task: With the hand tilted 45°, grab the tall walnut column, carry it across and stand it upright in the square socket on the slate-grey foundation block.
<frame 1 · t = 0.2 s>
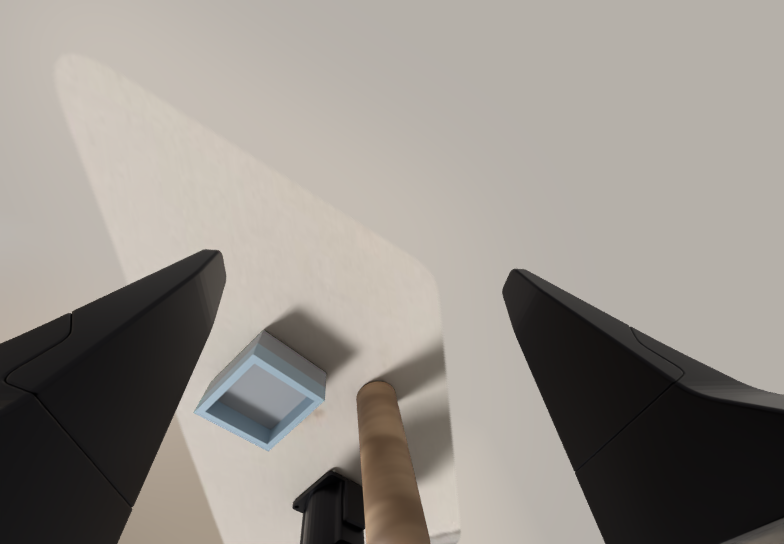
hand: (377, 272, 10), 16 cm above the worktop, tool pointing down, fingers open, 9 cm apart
pillar: (376, 397, 31), on the worktop
foundation: (270, 377, 28), on the worktop
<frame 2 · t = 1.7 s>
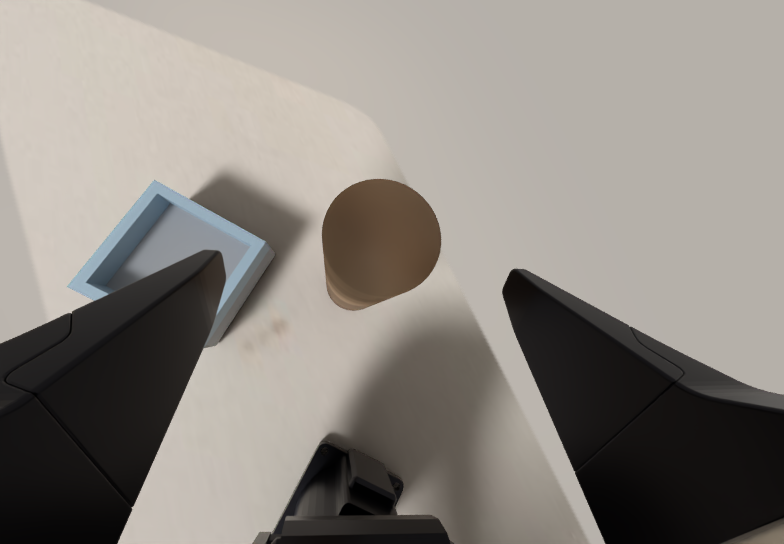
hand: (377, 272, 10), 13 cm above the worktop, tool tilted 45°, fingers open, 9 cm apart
pillar: (354, 283, 23), on the worktop
foundation: (198, 272, 21), on the worktop
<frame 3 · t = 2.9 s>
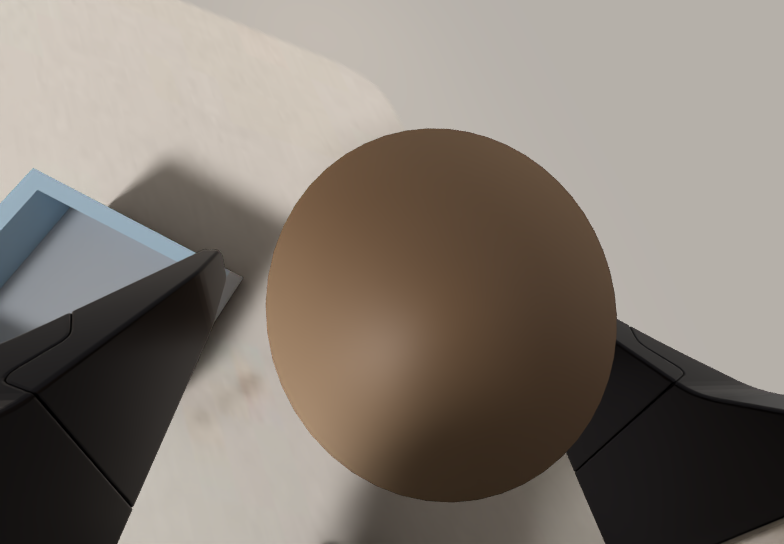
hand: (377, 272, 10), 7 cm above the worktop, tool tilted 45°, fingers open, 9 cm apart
pillar: (357, 317, 16), on the worktop
foundation: (125, 308, 14), on the worktop
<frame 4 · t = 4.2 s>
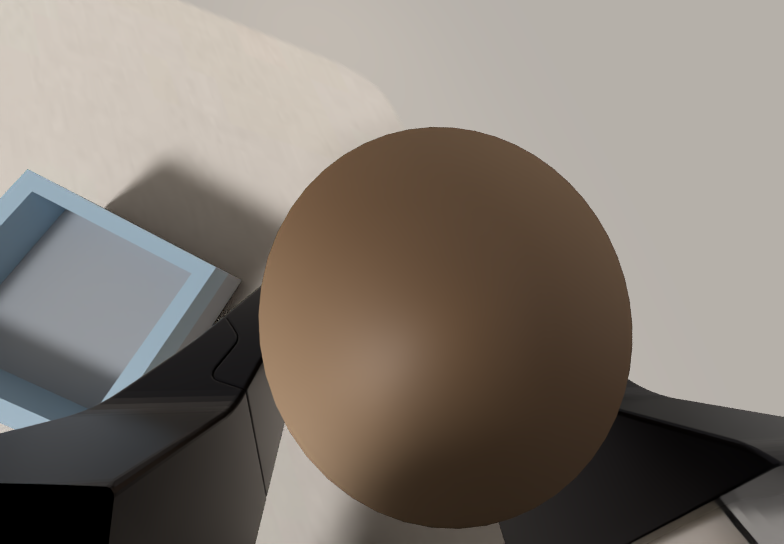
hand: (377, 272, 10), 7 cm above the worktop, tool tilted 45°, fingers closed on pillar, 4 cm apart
pillar: (357, 319, 16), on the worktop, touching gripper
foundation: (122, 311, 14), on the worktop
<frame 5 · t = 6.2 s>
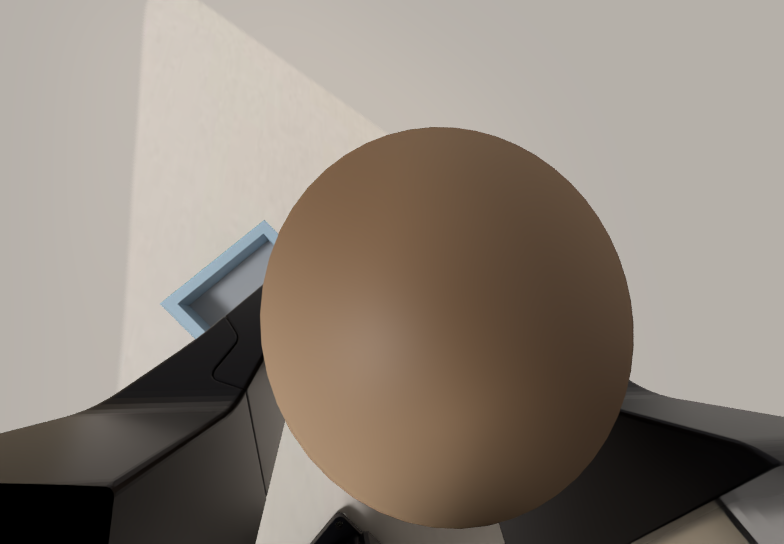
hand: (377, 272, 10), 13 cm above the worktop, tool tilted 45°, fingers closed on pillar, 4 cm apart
pillar: (357, 319, 16), point 7 cm above the worktop, touching gripper
foundation: (270, 307, 21), on the worktop
when the fingers open (9 cm above the worktop, at t = 8.2 s): pillar stays where it is, resting on foundation.
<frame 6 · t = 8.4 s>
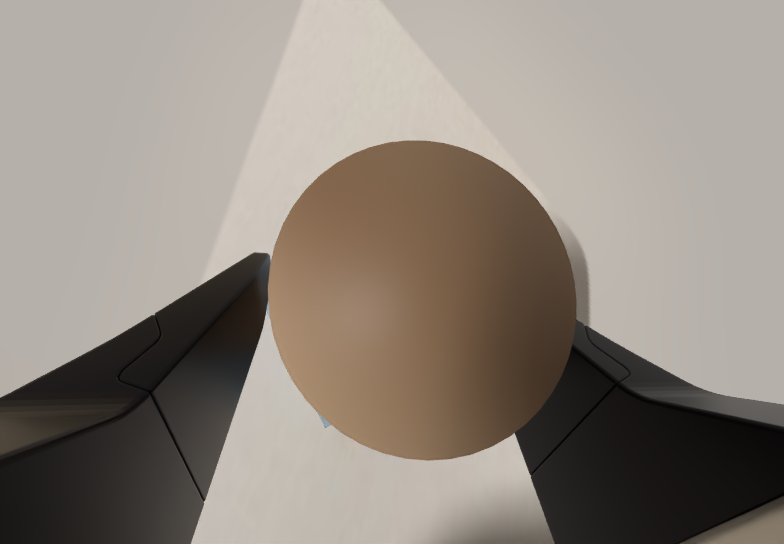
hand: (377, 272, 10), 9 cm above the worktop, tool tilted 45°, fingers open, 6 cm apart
pillar: (356, 320, 16), point 2 cm above the worktop, touching foundation
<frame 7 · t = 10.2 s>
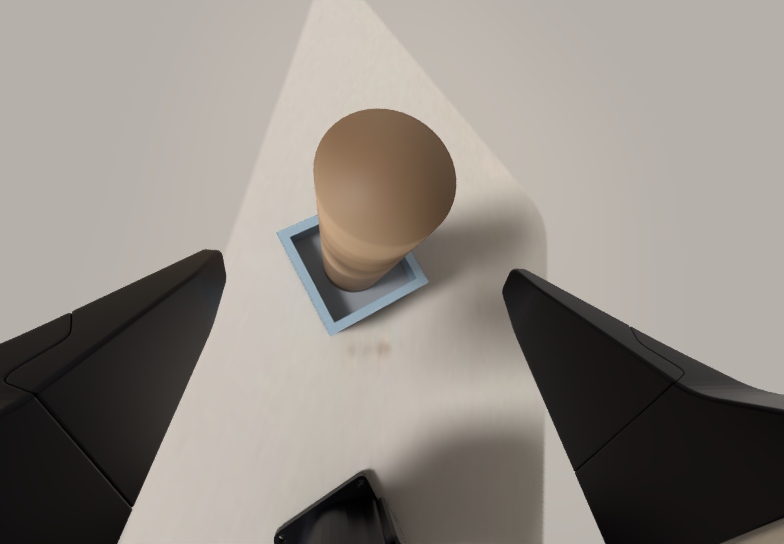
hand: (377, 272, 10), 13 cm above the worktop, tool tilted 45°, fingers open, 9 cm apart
pillar: (353, 263, 21), point 2 cm above the worktop, touching foundation
foundation: (351, 268, 23), on the worktop
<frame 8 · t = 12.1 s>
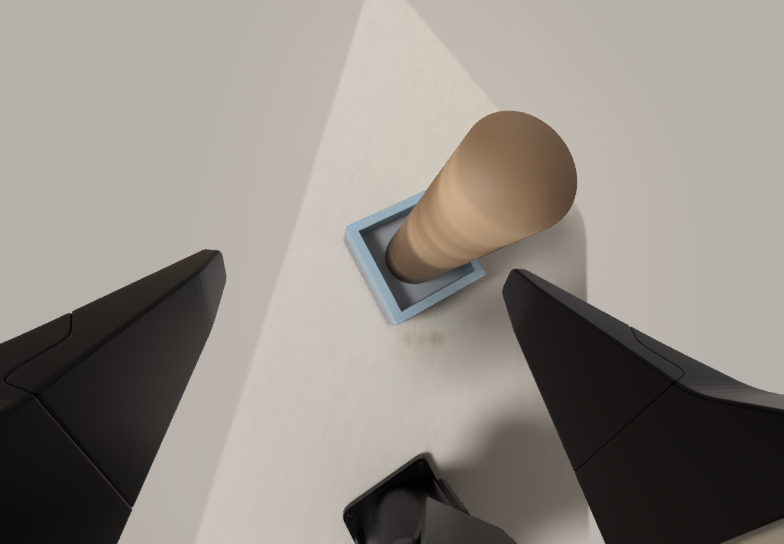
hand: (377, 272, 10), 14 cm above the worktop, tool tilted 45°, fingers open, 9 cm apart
pillar: (412, 256, 22), point 2 cm above the worktop, touching foundation
foundation: (405, 261, 24), on the worktop
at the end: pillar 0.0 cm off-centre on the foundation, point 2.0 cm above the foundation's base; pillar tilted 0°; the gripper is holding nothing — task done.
